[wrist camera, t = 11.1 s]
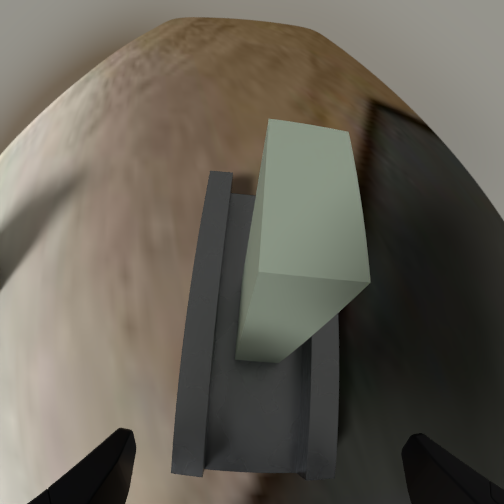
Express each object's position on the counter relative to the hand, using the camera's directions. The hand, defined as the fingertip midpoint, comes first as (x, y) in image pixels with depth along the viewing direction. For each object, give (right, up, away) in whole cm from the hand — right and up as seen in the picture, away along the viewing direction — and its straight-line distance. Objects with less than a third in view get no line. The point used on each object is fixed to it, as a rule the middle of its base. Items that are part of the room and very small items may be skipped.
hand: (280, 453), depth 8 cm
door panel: (0, +2, +10) cm, 10 cm away
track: (0, +2, +11) cm, 11 cm away
